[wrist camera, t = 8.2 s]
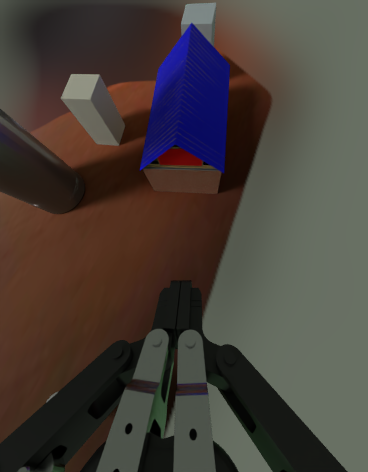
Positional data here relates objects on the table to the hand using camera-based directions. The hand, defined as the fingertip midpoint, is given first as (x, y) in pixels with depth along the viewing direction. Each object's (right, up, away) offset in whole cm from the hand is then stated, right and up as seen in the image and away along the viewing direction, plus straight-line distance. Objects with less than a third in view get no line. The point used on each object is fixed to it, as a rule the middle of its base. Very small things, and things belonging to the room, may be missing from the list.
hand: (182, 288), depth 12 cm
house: (+1, +21, +19) cm, 29 cm away
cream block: (-15, +25, +22) cm, 36 cm away
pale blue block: (+3, +38, +23) cm, 45 cm away
